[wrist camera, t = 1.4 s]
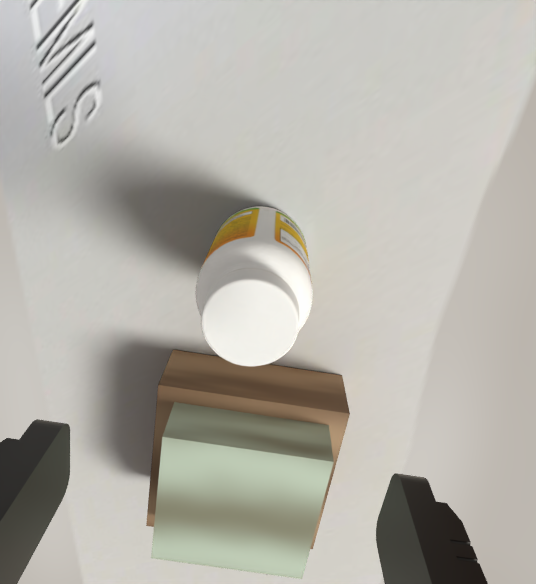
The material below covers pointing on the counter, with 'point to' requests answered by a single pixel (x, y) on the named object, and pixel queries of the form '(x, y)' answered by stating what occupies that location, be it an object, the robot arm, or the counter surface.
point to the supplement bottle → (254, 287)
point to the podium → (242, 462)
